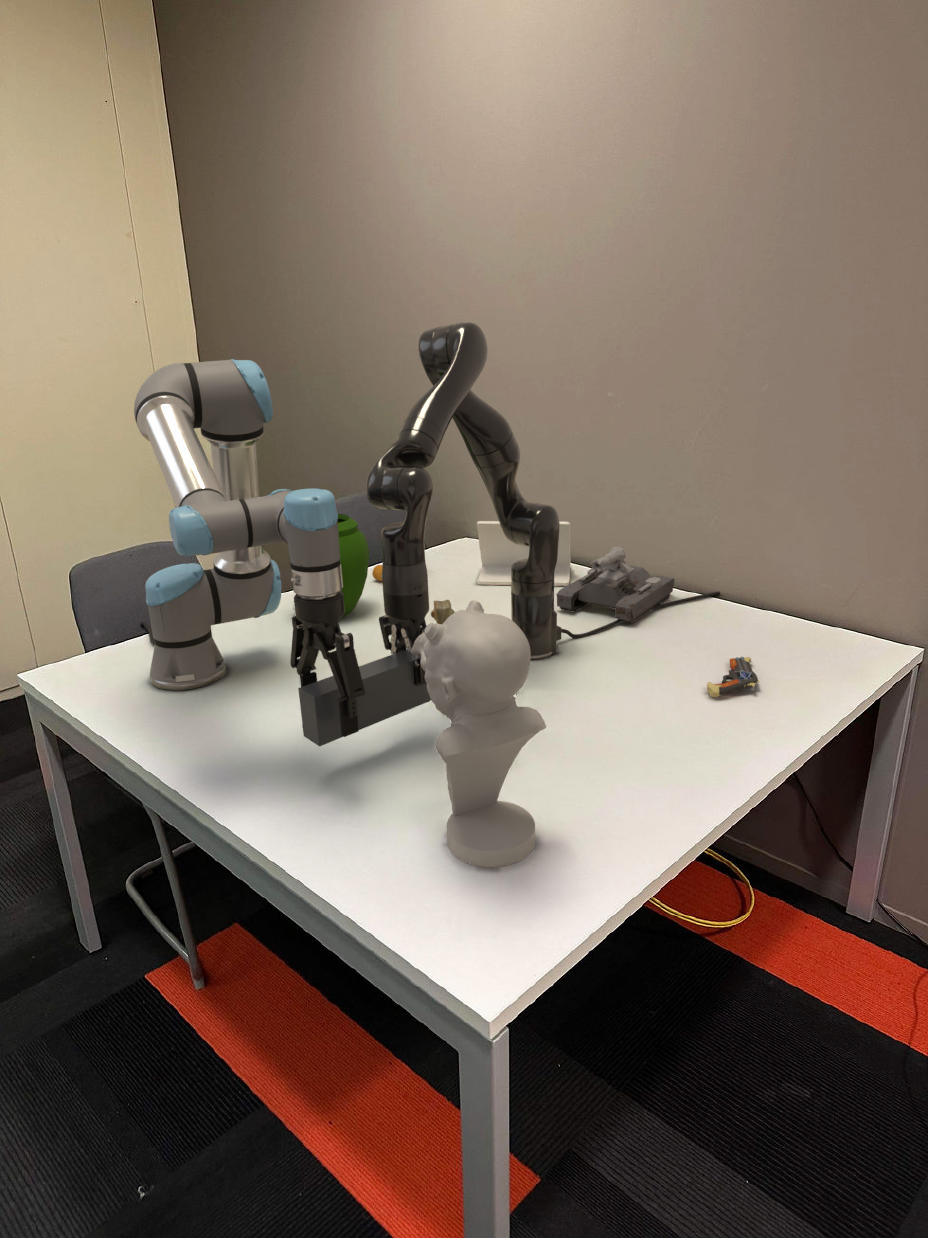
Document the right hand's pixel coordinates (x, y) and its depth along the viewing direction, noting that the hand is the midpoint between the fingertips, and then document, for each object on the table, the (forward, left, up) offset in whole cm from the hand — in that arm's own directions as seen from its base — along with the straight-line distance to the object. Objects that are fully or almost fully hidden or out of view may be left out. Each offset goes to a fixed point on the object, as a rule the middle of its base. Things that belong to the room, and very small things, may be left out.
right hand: (411, 679), depth 147 cm
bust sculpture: (-4, +30, -12) cm, 32 cm away
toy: (-59, -57, -12) cm, 83 cm away
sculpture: (-11, -28, -12) cm, 33 cm away
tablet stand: (-44, -87, -12) cm, 98 cm away
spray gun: (-10, -95, -12) cm, 96 cm away
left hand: (+14, +9, -2) cm, 17 cm away
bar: (+7, +4, -4) cm, 9 cm away
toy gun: (-65, -9, -12) cm, 67 cm away
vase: (+10, -70, -12) cm, 71 cm away
